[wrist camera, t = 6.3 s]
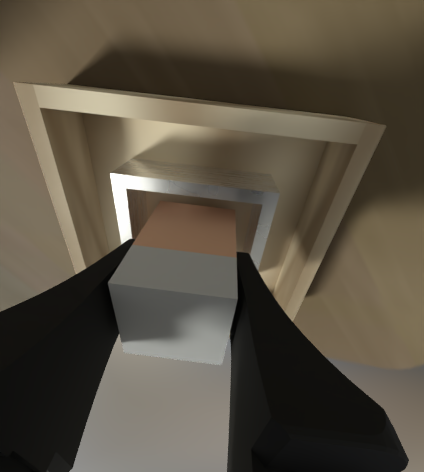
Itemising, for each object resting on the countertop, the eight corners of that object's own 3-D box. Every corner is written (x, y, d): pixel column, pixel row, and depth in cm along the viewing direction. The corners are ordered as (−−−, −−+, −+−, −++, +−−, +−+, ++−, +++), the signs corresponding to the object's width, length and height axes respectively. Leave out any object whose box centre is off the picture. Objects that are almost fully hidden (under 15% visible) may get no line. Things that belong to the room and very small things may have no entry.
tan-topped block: (235, 209, 12) (237, 299, 7) (225, 266, 14) (221, 365, 9) (160, 200, 12) (107, 283, 7) (162, 258, 14) (124, 352, 9)
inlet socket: (270, 174, 11) (280, 193, 9) (245, 276, 15) (248, 305, 13) (132, 158, 11) (109, 173, 9) (142, 264, 15) (128, 291, 13)
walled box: (348, 116, 10) (386, 125, 8) (275, 304, 17) (283, 340, 15) (66, 84, 10) (12, 81, 8) (110, 284, 17) (90, 317, 15)
